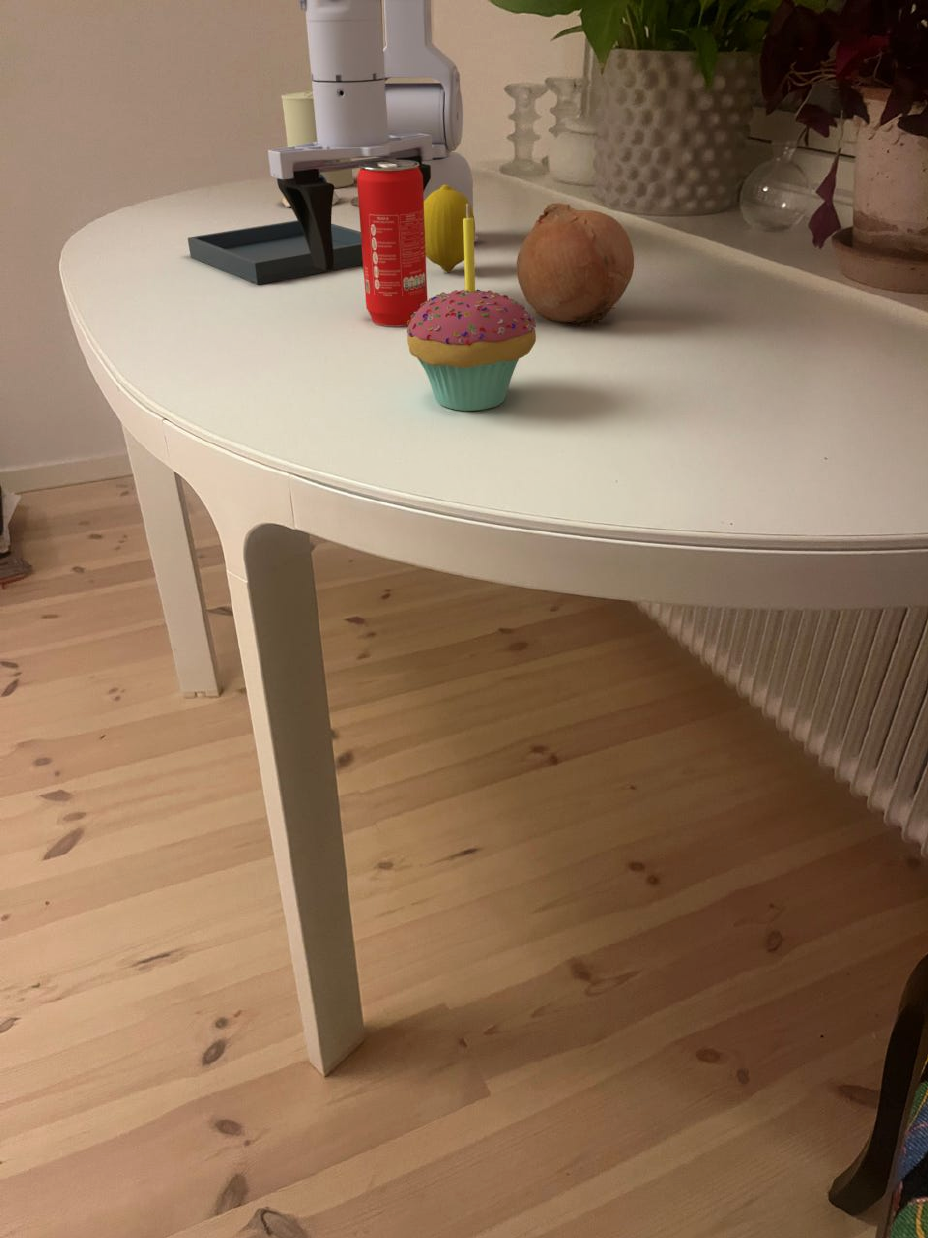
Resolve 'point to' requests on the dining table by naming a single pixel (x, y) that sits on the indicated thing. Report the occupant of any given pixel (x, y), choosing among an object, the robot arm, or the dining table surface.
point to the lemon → (445, 227)
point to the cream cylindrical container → (308, 131)
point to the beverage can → (392, 239)
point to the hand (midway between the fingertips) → (361, 260)
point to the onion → (574, 264)
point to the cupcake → (470, 340)
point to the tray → (272, 251)
